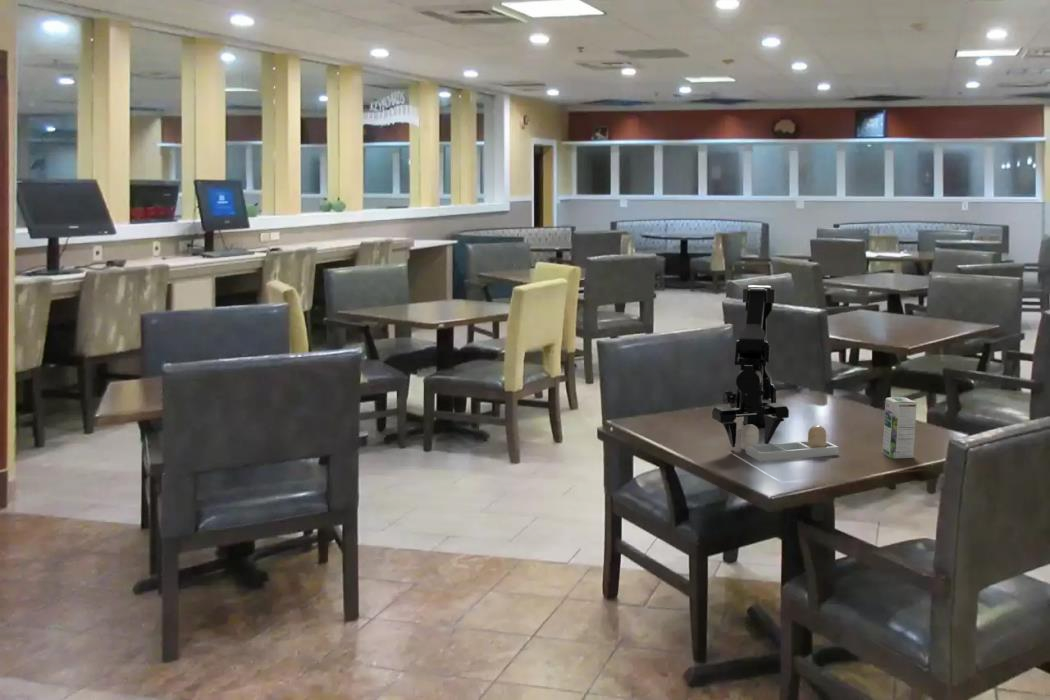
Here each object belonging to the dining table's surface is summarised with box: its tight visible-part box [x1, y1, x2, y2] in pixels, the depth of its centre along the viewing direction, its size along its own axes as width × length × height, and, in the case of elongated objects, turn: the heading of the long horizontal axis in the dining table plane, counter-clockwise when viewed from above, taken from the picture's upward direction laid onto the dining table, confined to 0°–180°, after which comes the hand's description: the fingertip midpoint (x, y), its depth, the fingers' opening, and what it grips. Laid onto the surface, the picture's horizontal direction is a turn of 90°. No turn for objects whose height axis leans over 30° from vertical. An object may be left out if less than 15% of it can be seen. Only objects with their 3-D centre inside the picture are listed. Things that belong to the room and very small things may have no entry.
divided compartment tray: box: [745, 440, 840, 462], centre depth 258 cm, size 21×8×2 cm, turn 104°
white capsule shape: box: [740, 424, 760, 451], centre depth 264 cm, size 4×4×7 cm
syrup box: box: [882, 396, 918, 459], centre depth 255 cm, size 6×6×14 cm
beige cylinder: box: [807, 424, 827, 448], centre depth 259 cm, size 4×4×7 cm
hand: (749, 445), depth 264 cm, fingers open, 9 cm apart
